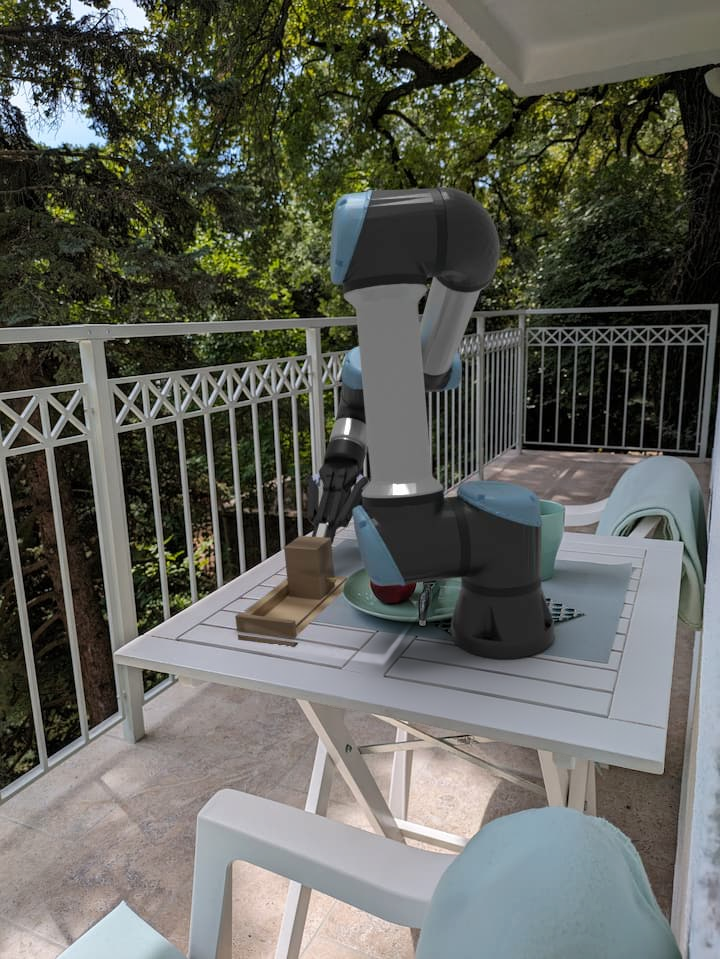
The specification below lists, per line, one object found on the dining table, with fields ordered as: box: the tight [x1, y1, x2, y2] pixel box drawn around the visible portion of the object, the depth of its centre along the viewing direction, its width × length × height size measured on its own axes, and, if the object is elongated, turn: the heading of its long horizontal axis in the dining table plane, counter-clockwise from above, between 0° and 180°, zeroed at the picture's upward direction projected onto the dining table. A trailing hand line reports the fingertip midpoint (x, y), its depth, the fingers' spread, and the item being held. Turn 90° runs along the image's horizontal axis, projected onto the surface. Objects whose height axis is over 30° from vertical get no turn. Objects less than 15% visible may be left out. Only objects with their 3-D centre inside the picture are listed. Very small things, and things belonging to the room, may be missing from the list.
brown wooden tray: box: [234, 575, 349, 648], centre depth 123 cm, size 24×10×4 cm, turn 157°
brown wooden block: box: [283, 535, 336, 600], centre depth 126 cm, size 6×8×9 cm
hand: (316, 559), depth 130 cm, fingers closed
